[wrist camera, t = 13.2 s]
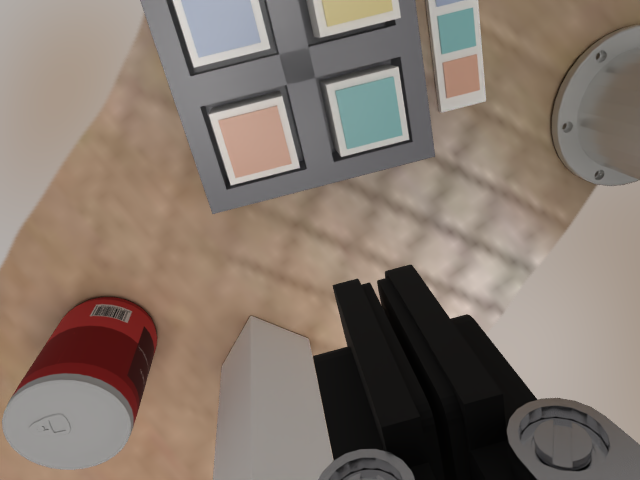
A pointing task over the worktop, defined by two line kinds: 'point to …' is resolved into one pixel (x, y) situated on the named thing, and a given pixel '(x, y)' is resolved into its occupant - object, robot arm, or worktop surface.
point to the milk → (270, 409)
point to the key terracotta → (254, 137)
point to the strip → (456, 52)
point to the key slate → (221, 29)
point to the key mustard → (349, 14)
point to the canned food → (83, 386)
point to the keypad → (292, 95)
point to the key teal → (365, 109)
